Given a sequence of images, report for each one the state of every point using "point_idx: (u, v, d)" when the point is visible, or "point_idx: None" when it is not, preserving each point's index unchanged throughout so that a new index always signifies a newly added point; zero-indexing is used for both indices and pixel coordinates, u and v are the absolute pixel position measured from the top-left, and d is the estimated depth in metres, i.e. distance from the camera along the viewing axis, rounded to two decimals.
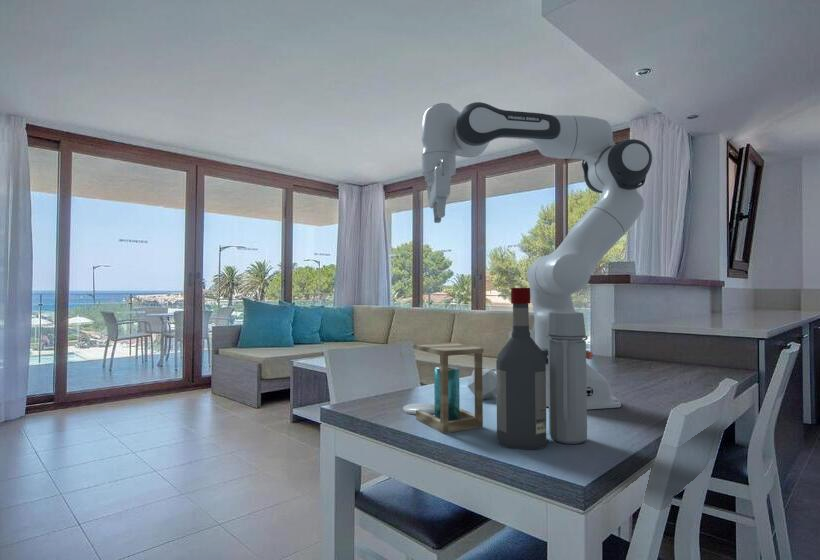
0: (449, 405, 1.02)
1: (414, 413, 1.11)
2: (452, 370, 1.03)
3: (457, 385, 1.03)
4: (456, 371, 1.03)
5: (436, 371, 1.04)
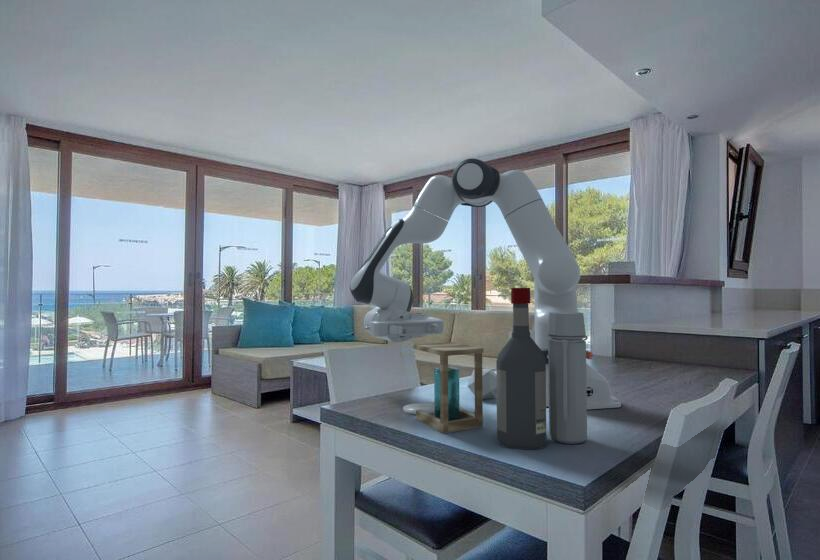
0: (449, 405, 1.02)
1: (414, 413, 1.11)
2: (452, 370, 1.03)
3: (457, 385, 1.03)
4: (456, 371, 1.03)
5: (436, 371, 1.04)
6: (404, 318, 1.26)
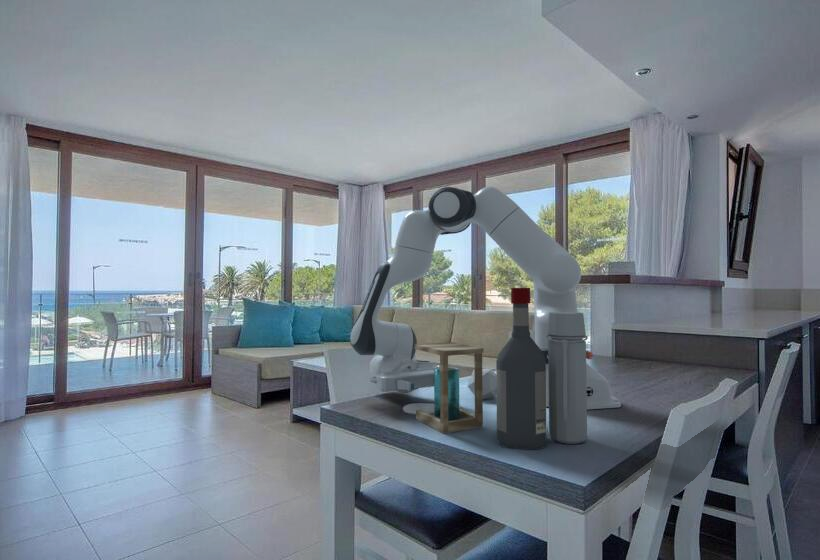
0: (449, 405, 1.02)
1: (414, 413, 1.11)
2: (452, 370, 1.03)
3: (457, 385, 1.03)
4: (456, 371, 1.03)
5: (436, 371, 1.04)
6: (411, 368, 1.22)
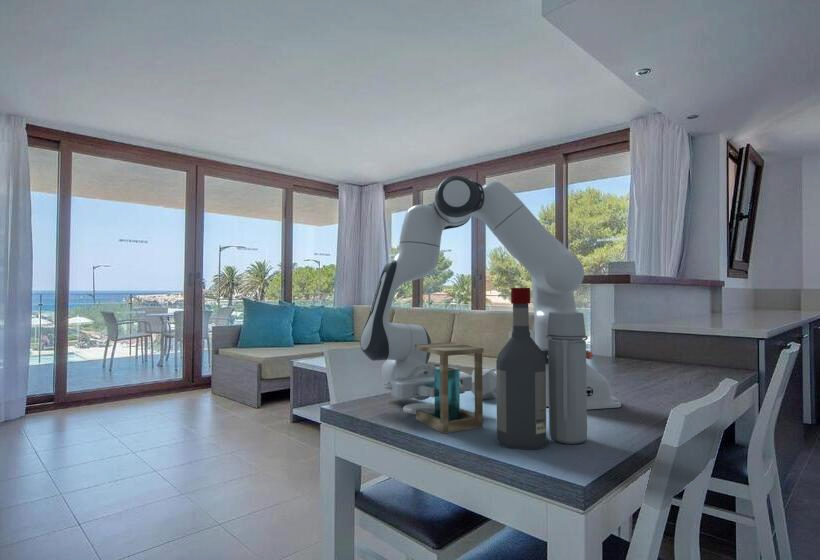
0: (449, 405, 1.02)
1: (414, 413, 1.11)
2: (452, 370, 1.03)
3: (457, 385, 1.03)
4: (456, 371, 1.03)
5: (436, 371, 1.04)
6: (428, 374, 1.14)
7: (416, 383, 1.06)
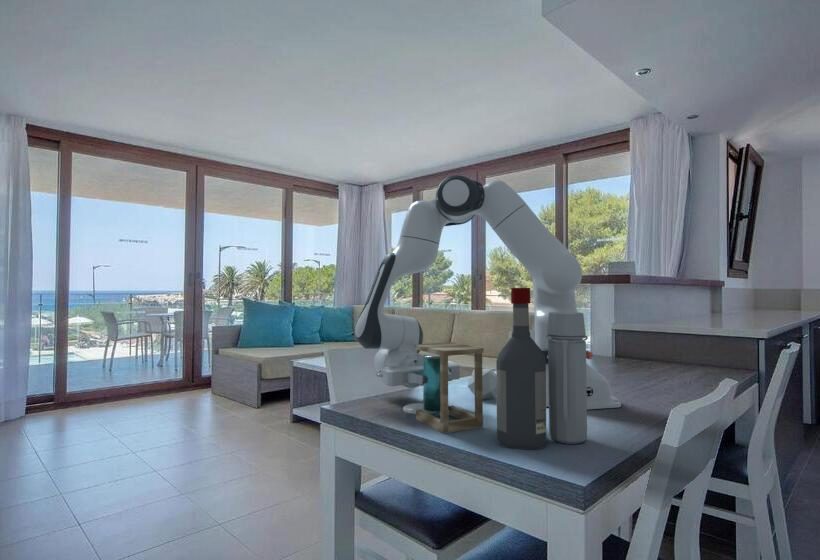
0: (437, 391, 1.07)
1: (414, 413, 1.11)
2: None
3: None
4: None
5: (425, 359, 1.08)
6: (418, 362, 1.18)
7: (406, 371, 1.10)
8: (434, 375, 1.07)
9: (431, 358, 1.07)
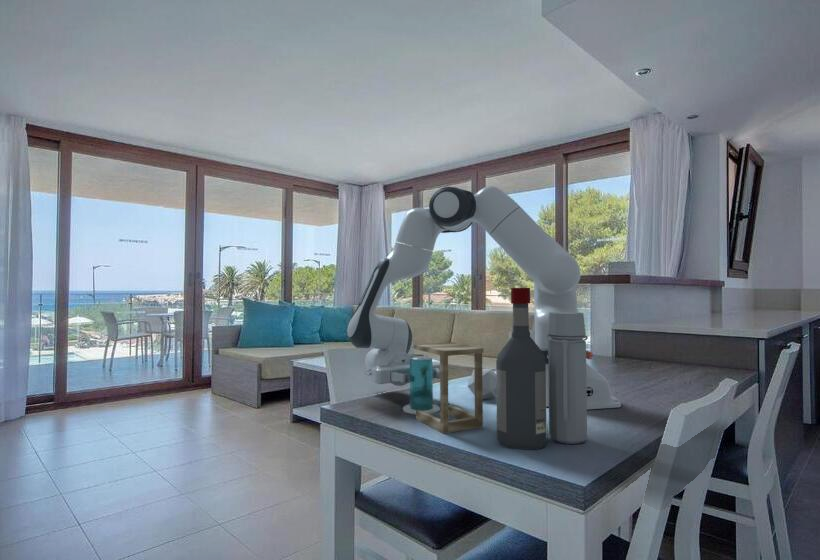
0: (423, 391, 1.13)
1: (414, 413, 1.11)
2: (425, 360, 1.13)
3: (430, 373, 1.14)
4: (429, 361, 1.14)
5: (411, 361, 1.14)
6: (406, 362, 1.25)
7: (393, 369, 1.17)
8: (420, 376, 1.13)
9: (416, 360, 1.13)
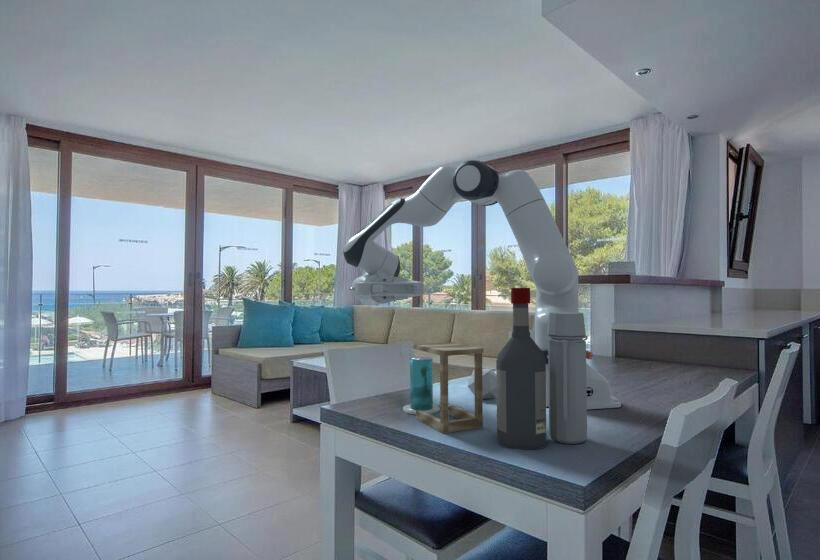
0: (423, 391, 1.13)
1: (414, 413, 1.11)
2: (425, 360, 1.13)
3: (430, 373, 1.14)
4: (429, 361, 1.14)
5: (411, 361, 1.14)
6: (387, 281, 1.36)
7: (374, 283, 1.28)
8: (420, 376, 1.13)
9: (417, 360, 1.14)
